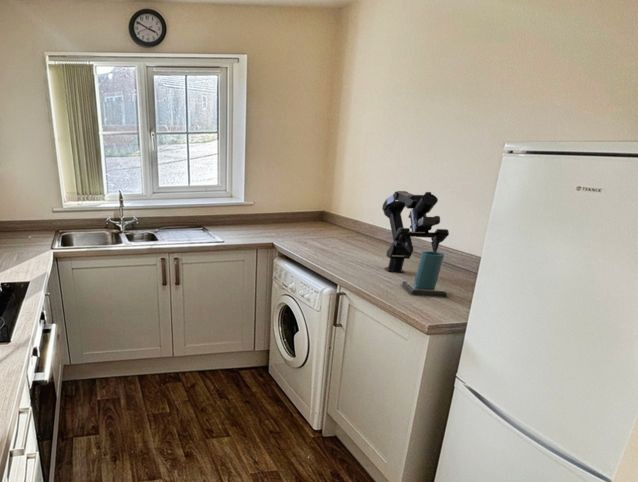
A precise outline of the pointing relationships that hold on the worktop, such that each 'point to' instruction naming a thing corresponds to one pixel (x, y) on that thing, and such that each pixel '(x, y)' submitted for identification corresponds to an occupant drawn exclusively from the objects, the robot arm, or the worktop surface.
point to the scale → (425, 293)
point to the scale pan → (436, 289)
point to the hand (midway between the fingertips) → (422, 252)
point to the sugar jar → (428, 269)
